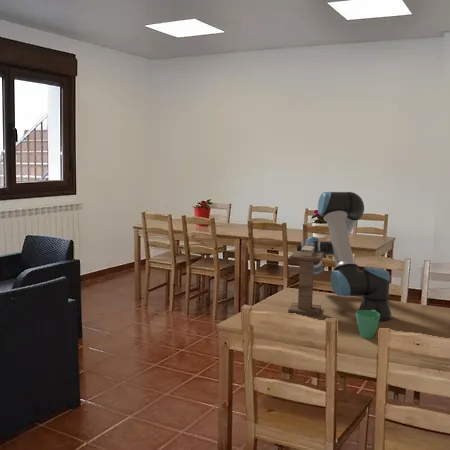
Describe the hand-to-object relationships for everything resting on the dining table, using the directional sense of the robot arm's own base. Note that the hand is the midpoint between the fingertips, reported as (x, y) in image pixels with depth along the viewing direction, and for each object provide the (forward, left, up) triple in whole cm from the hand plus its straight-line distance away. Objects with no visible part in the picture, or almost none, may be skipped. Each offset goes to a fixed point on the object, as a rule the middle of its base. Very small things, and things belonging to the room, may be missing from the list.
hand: (310, 243), depth 272 cm
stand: (-6, +9, -32) cm, 34 cm away
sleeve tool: (-2, +3, -4) cm, 5 cm away
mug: (-46, +13, -32) cm, 58 cm away
